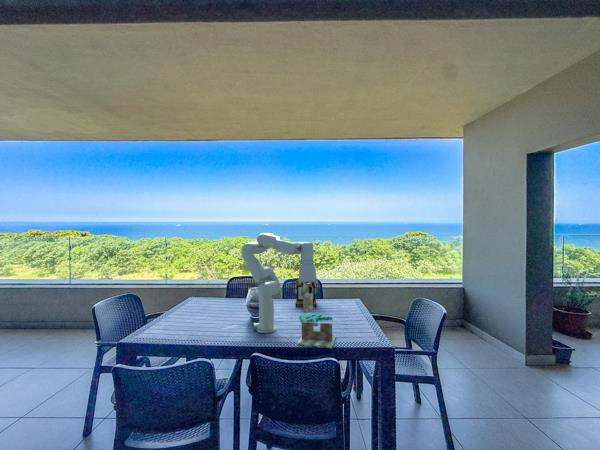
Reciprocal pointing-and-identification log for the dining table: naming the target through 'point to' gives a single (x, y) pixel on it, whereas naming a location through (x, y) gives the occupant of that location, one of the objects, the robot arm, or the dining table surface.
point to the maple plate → (307, 298)
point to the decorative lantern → (300, 294)
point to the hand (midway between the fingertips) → (308, 292)
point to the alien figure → (313, 318)
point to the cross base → (320, 344)
